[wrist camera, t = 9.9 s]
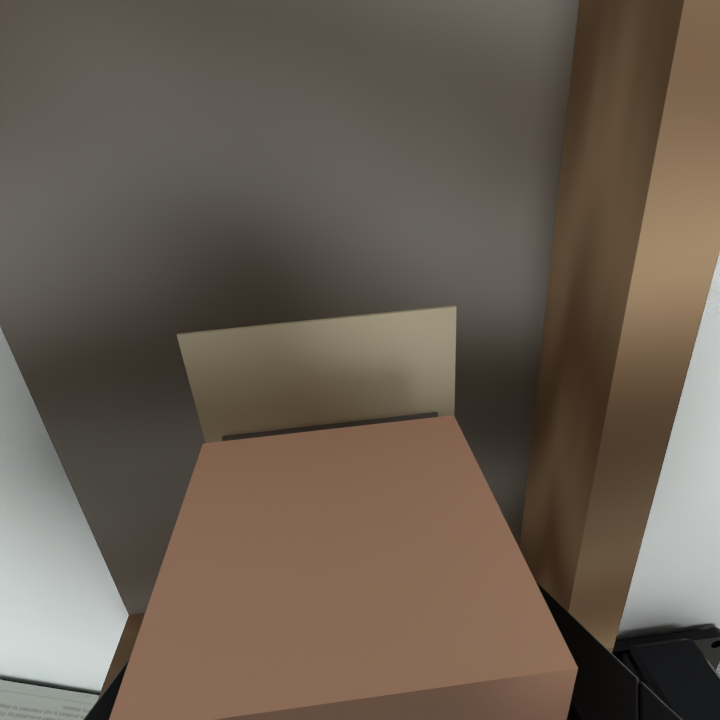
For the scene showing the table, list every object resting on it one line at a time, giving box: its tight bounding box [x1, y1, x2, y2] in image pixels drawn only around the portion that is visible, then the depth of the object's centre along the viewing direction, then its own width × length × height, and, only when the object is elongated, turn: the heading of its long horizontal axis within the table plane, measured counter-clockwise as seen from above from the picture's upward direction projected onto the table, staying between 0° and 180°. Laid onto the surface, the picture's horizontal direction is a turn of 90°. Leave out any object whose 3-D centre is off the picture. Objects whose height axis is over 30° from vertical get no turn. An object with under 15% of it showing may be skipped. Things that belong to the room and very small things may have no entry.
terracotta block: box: [109, 415, 578, 720], centre depth 8 cm, size 5×5×5 cm
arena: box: [0, 0, 720, 699], centre depth 12 cm, size 20×15×4 cm
